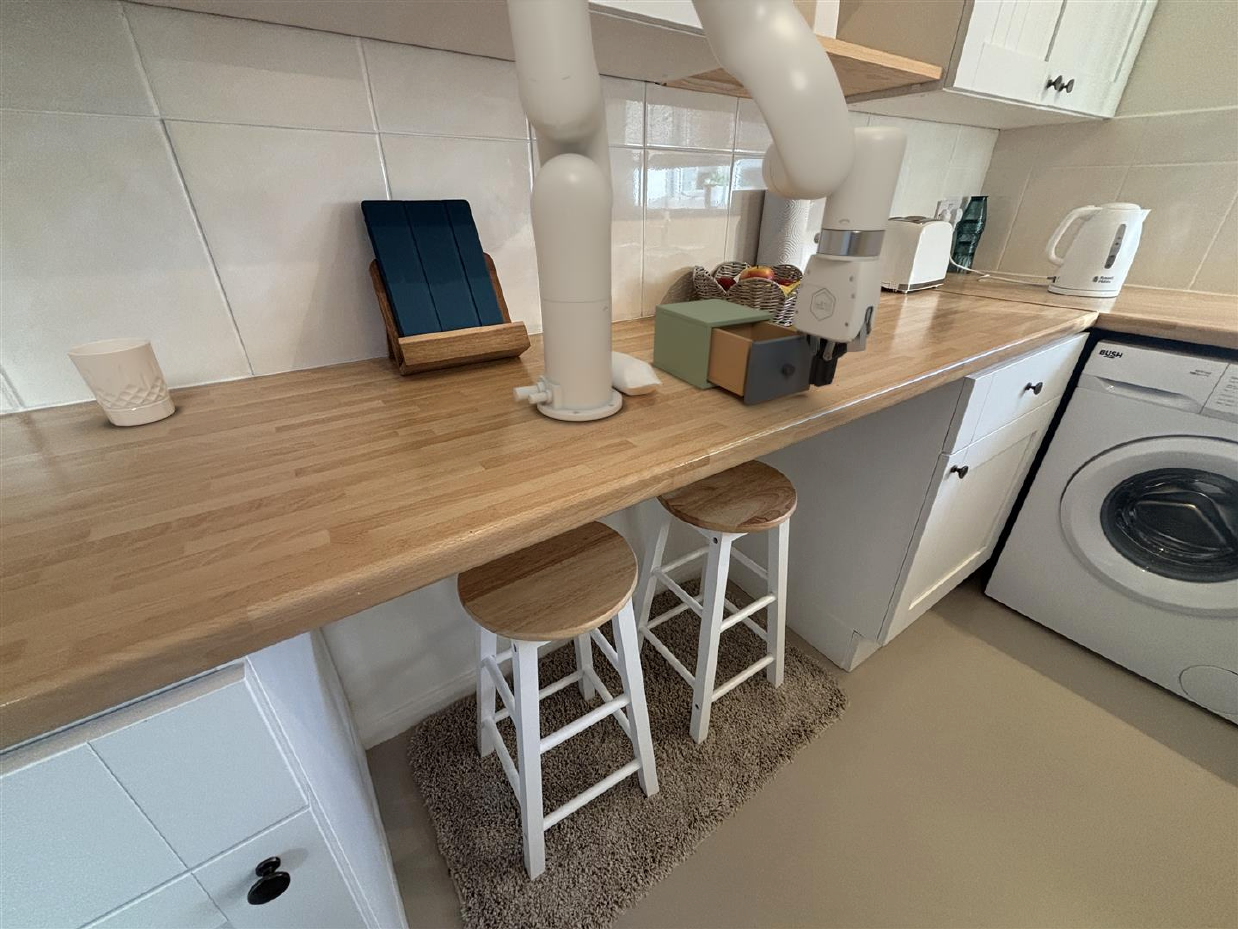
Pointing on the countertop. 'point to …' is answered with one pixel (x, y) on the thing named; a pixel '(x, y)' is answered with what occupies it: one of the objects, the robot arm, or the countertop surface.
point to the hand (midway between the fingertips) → (819, 383)
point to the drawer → (759, 360)
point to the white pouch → (633, 375)
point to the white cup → (124, 379)
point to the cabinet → (694, 335)
